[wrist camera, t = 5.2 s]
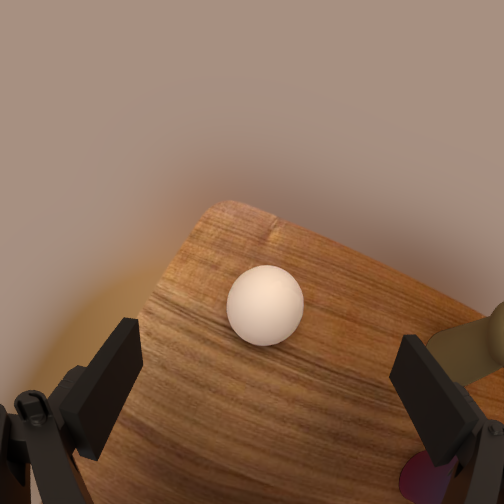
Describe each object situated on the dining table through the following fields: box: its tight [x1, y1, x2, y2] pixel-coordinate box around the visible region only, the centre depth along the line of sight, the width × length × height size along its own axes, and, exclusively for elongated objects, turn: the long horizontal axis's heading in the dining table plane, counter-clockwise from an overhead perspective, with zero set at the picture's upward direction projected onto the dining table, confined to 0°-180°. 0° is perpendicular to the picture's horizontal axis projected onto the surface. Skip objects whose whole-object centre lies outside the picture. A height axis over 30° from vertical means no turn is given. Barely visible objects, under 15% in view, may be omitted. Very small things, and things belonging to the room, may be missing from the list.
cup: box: [399, 450, 458, 504], centre depth 12 cm, size 7×7×15 cm
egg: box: [227, 265, 304, 346], centre depth 22 cm, size 5×5×8 cm
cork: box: [426, 302, 504, 387], centre depth 19 cm, size 6×6×11 cm
